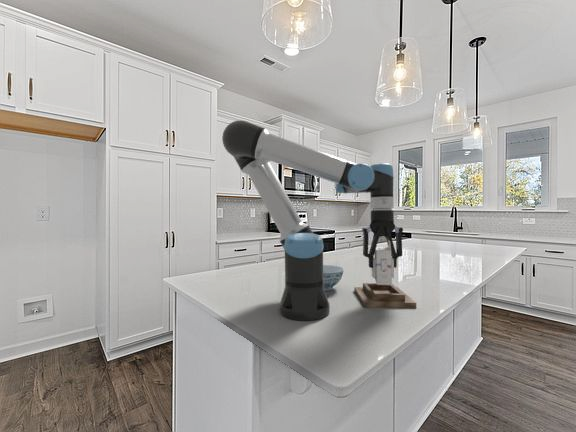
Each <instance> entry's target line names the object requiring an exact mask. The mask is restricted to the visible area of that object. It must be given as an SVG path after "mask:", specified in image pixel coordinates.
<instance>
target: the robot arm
mask: <svg viewBox="0 0 576 432" xmlns="http://www.w3.org/2000/svg"><path fill="white" fill-rule="evenodd" d="M222 144H223V147H224V149H225V150H226V152H227V153H228V154H230V155H231V156H232V157H233V158H234V160H235V162H236V164H237V165H238V167H239V169H240V170H241V172H242V173H243V174H246V175H248V177H249V178H250V180H251V182H252V184H253V185H254V187H255V189H256V191H257V192H258V195H259V197H260V198H261V200H262V202H263V204H264V206H265V208H266V209H267V211H268V214H269V215H270V217H271V218H272V221H273V222H274V224H275V226H276V228H277V230H278V231H279V233H280V237H279V243H280V245H281V246H282V248H283V249H284V290H283V293H282V295H281V296H282V297H281V299H280V302H279V313H281V314H280V315H281V316H283V317H284V316H285V317H284V318H287V319H289V320H290V319H291V320H295V321H314V320H320V319H323V318H326V317H327V316H328V315H329V314H330V303H329V299H328V296H327V293H326V291H325V290H324V286H323V265H324V247H325V246H324V240H323V237H322V236H321V235H319V234H316V233H314V232H313V230H312V229H311V226H310V225H309V223H305V222H303V221H302V219H301V218H300V215H299V214H298V211H297V210H296V208H295V207H294V205H293V203H292V201H291V199H290V198H289V195H288V194H287V192H286V190H285V188H284V187H283V185H282V183H281V181H280V179H279V177H278V176H277V173H276V172H275V170H274V169H273V166H272V165H271V162H273V163H277V164H280V165H282V166H285V167H288V168H290V169H294V170H297V171H299V172H302V173H305V174H308V175H311V176H315V177H316V178H320V179H321V180H322V179H323V180H325V181H328V182H331V183H334V186H335V187H334V189H335V191H336V193H337V194H344V195H345V194H359V193H361V194H362V193H363V194H364V193H366V194H368V193H369V194H370V209H371V211H370V224H369V226H366V227H362V228H361V232H362V234H363V237H362V238H363V239H362V240H363V242H362V243H363V244H362V248H363V249H362V255H363V256H364V257H366V258H367V259H368V267H369V268H370V269H371V277H372V279H375V278H376V259H375V255H374V253H375V250H376V247H378V246H377V245H378V243H379V240H380V238H382V237H384V238H385V239H386V243H388V240H389V241H390V244H391V268H392V279H394V278H395V269H396V268H397V265H398V263H397V260H398V258H400V257H403V237H402V234H403V231H404V228H403V227H398V226H396V225H395V221H394V220H395V219H394V215H395V214H394V213H395V211H394V210H393V209H394V179H395V176H394V168H393V165H392V164H390V163H377V164H371V165H370V164H369V165H368V164H367V163H355V162H352V161H349V160H347V159H344V158H340V157H338V156H335V155H332V154H329V153H326V152H323V151H320V150H318V149H315V148H311V147H309V146H306V145H304V144H301V143H297V142H294V141H292V140H289V139H287V138H283V137H280V136H277V135H275V134H272V133H269V130H268V129H267V128H265V127H262V126H259V125H256V124H254V123H251V122H249V121H245V120H235V121H232V122H231V123H229V124H227V125H226V127H225V128H224V130H223V133H222ZM370 231H371V232H372V233H373V235H372V241H371V244H370V248H369V234H370ZM393 231H394V233H395V246H394V242H393V241H394V240H393V236H392V233H393ZM388 245H389V243H388Z"/></svg>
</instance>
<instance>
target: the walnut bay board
mask: <svg viewBox="0 0 576 432" xmlns="http://www.w3.org/2000/svg"><path fill="white" fill-rule="evenodd" d="M353 290H354V293H355V295H357V297H358V299H359V301H360V302H361V304H362V305H363V307H364V308H409V309H410V308H412V309H413V308H417V302H416V301H415V300H414V299H413V298H412V297H410V296H409V295H408V294H407V293H405V292H404V291H402V289H400V287H398V286H395V285H394V284H393V283H392V285H377V283H376V282H363V283H362V286H359V287H358V286H354V289H353Z"/></svg>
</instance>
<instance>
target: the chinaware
mask: <svg viewBox="0 0 576 432" xmlns="http://www.w3.org/2000/svg"><path fill="white" fill-rule="evenodd" d="M344 272H345V271H344V268H343V267H341V266H338V265H330V264H323V286H324V290H325V292H327V291H332V290H333V289H334V287H336V285H337V284H339V282H340V281H341V280H342V277H343V274H344Z"/></svg>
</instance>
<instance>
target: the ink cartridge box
mask: <svg viewBox="0 0 576 432" xmlns="http://www.w3.org/2000/svg"><path fill="white" fill-rule="evenodd" d="M386 243H387V242H386ZM388 243H389V245H388ZM388 243H387V246H376V250H375V253H374V258H375V259H376V278H374V280H375V283H377V285H392V284H393V283H392V282H393V281H392V280H393V278H392V268H391V258H392V256H391V244H390V241H389V240H388Z"/></svg>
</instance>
